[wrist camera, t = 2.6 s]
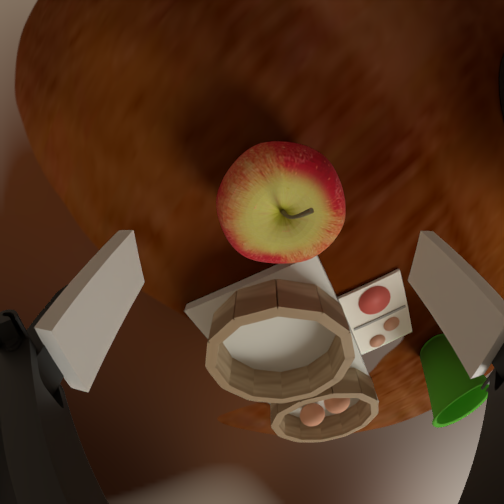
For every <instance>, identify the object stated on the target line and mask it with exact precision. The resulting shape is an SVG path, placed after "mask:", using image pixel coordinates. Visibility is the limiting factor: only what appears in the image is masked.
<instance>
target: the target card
mask: <svg viewBox="0 0 504 504" xmlns="http://www.w3.org/2000/svg"><path fill="white" fill-rule="evenodd" d="M338 300H339V302H340V304H341V305H342V308H343V311H344V314H345V316H346V318H347V321H348V323H349V326H350V328H351V330H352V333H353V335H354V337H355V340H356V342H357V345H358V347H359V350H360V352H361V355H363V354H365V353H367V352H370V351H372V350H374V349H376V348H379V347H381V346H383V345H385V344H387V343H390V342H392V341H394V340H396V339H398V338H400V337H403V336H405V335H407V334H409V333H411V332H412V327H411V321H410V315H409V310H408V305H407V300H406V295H405V290H404V286H403V282H402V277H401V273H400V270H399V269H396V270H394V271H392V272H390V273H388V274H386V275H384V276H382V277H380V278H378V279H376V280H374V281H372V282H369V283H367V284H365V285H363V286H361V287H359V288H356V289H354V290H352V291H350V292H348V293H345V294H343V295H341V296H339V297H338Z"/></svg>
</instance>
